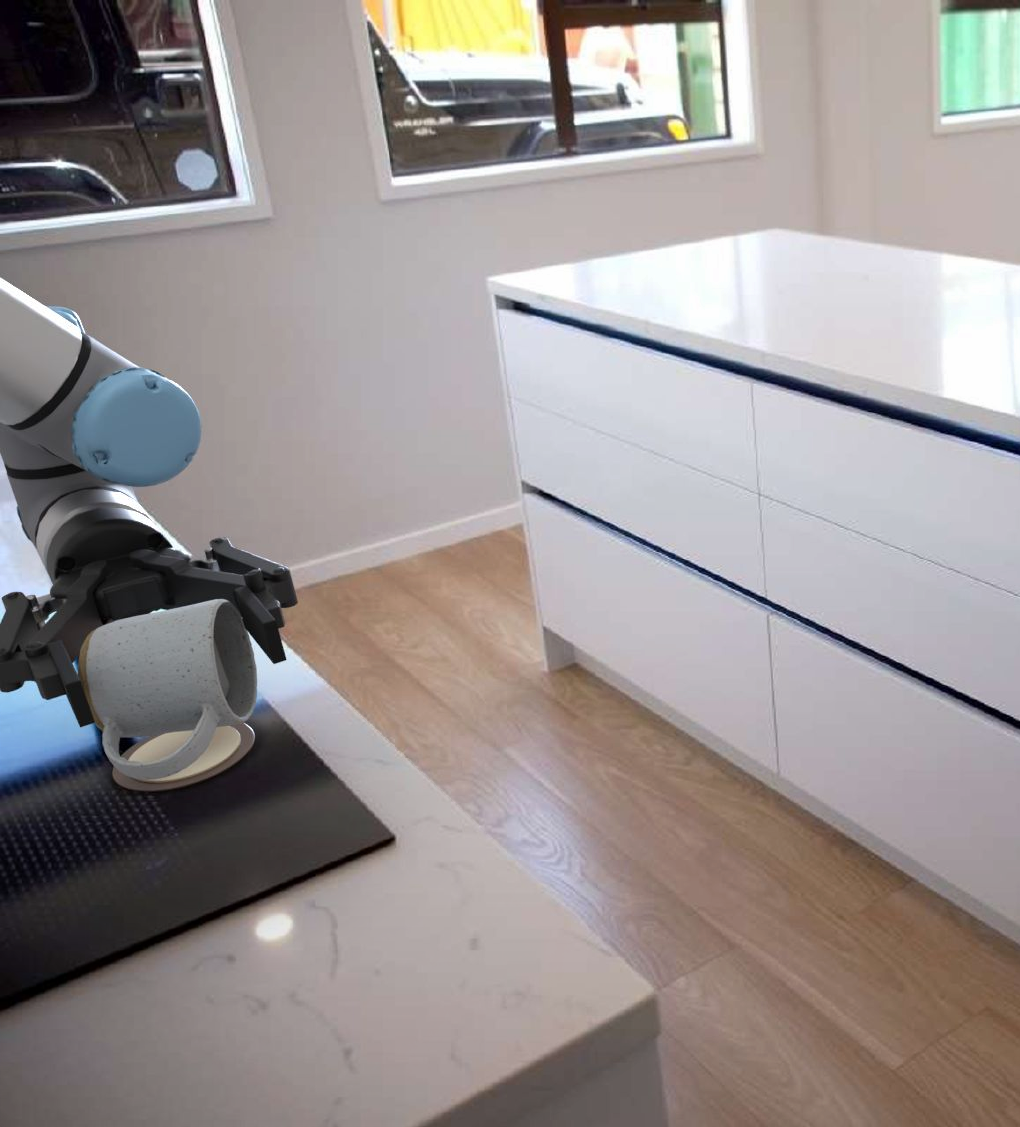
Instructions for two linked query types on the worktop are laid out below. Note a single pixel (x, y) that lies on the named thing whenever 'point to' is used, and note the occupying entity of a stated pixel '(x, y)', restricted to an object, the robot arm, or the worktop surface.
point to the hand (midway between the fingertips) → (181, 672)
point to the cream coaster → (216, 759)
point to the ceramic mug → (169, 680)
